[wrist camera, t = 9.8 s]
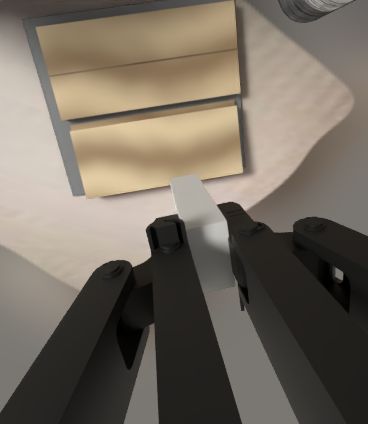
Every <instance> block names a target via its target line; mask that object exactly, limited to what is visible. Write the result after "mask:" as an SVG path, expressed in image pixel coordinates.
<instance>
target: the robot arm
mask: <svg viewBox="0 0 368 424" xmlns="http://www.w3.org/2000/svg"><path fill="white" fill-rule="evenodd" d="M169 180H170V185H171V190H172V195H173V200H174V205H175V210H176V214H174V215H170V216H165V217H160V218H156V220H155V221H154V222H153V223H151V224H150V225H149V226H148V227H147V229H146V233H147V237H148V241H149V245H150V249H151V257H150V258H149V259H148V260H147V261H145V262H144V263H142V264H140V265H137V266H135V267H132V265H131V264H130V262H128V261H125V260H116V261H110V262H108V263H105V264H103V265H102V266H100V267H99V268H97V269H96V270H95V271H94V272H93V273H92V275H91V276H90V278H89V279H88V281H87V282H86V284H85V285H84V287H83V288H82V290H81V292H80V293H79V295H78V296H77V298H76V299H75V301H74V302H73V304H72V305H71V307H70V308H69V310H68V311H67V313H66V314H65V316H64V317H63V319H62V320H61V322H60V323H59V325H58V326H57V328H56V329H55V331H54V333H53V334H52V335H51V337H50V339H49V340H48V341H47V343H46V344H45V346H44V348H43V349H42V351H41V352H40V354H39V355H38V357H37V358H36V360H35V361H34V363H33V364H32V366H31V367H30V369H29V370H28V372H27V373H26V375H25V376H24V378H23V379H22V381H21V382H20V384H19V385H18V387H17V388H16V390H15V392H14V393H13V395H12V396H11V397H10V399H9V400H8V402H7V404H6V405H5V407H4V408H3V410H2V411H1V413H0V424H124V420H125V417H126V413H127V409H128V406H129V402H130V399H131V395H132V392H133V388H134V385H135V381H136V378H137V374H138V371H139V367H140V364H141V360H142V356H143V353H144V349H145V346H146V342H147V339H148V335H149V328H150V327H149V325H151V324H153V323H154V325H155V348H156V369H157V390H158V391H157V392H158V414H159V424H242V422H241V419H240V415H239V412H238V409H237V405H236V402H235V399H234V395H233V392H232V389H231V385H230V382H229V378H228V375H227V372H226V368H225V365H224V361H223V358H222V355H221V352H220V348H219V345H218V341H217V338H216V334H215V331H214V328H213V325H212V321H211V318H210V314H209V311H208V308H207V304H206V301H205V297H204V294H203V293H208V292H212V291H217V290H221V289H225V288H230V287H234V286H235V279H234V276H235V278H236V280H237V282H238V289H239V297H240V304H241V311H244V306H245V308H246V310H247V312H248V314H249V316H250V319H251V321H252V323H253V325H254V327H255V329H256V332H257V334H258V336H259V338H260V340H261V342H262V344H263V347H264V349H265V351H266V353H267V355H268V357H269V360H270V362H271V364H272V366H273V368H274V370H275V373H276V375H277V377H278V379H279V381H280V383H281V385H282V388H283V390H284V392H285V394H286V396H287V398H288V400H289V403H290V405H291V407H292V409H293V411H294V413H295V415H296V418H297V420H298V422H299V424H368V236H366V235H364V234H361V233H359V232H357V231H354V230H352V229H350V228H347V227H345V226H343V225H340V224H338V223H336V222H333V221H331V220H328V219H325V218H317V217H307V218H304V219H300V220H298V221H296V222H295V223H294V225H293V232H285V233H274V232H273V231H272V230H271V229H270V228H269V227H268V226H267V225H266V224H264V223H261V222H254V221H253V220H252V219H251V218H250V216H249V215H248V214H246V212H245V210H243V208H242V207H241V206H240V205H239V204H237V203H234V202H227V203H222V204H218V205H216V203H215V202H214V200H213V199H212V197H211V196H210V194H209V193H208V191H207V189H206V188H205V186H204V185H203V183H202V182H201V180H200V178H199V177H198V175H197V174H191V175H186V176H181V177H176V178H172V179H169ZM335 267H336V268H338V269H339V270H341V271H342V272H343V281H342V280H340V279H338V278H336V277H335Z"/></svg>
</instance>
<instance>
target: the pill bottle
mask: <svg viewBox="0 0 368 424" xmlns="http://www.w3.org/2000/svg"><path fill="white" fill-rule="evenodd" d="M278 1H279V4H280V7H281V8H282V10H283V12H284V13H285V14H286V15H287V16H288V17H289V18H290V19H291V20H294V21H296V22H300V23H306V22H311V21H314V20H317V19H319V18H321V17H323V16H325V15H327V14H329V13H331V12H333V11H335V10H337V9H339V8H341V7H343V6H345V5H347V4H349V3H351V2H353V1H355V0H278Z"/></svg>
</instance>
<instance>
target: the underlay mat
mask: <svg viewBox="0 0 368 424" xmlns="http://www.w3.org/2000/svg"><path fill="white" fill-rule="evenodd" d="M224 1H232V0H164V1H156V2H149V3H142V4H134V5H127V6H119V7H112V8H104V9H97V10H89V11H82V12H74V13H67V14H60V15H52V16H45V17H37V18H30V19H22V21H23V24H24V28H25V31H26V35H27V38H28V42H29V45H30V49H31V52H32V55H33V59H34V62H35V66H36V69H37V73H38V76H39V80H40V83H41V87H42V90H43V93H44V97H45V100H46V104H47V107H48V111H49V114H50V118H51V121H52V124H53V128H54V131H55V135H56V138H57V142H58V145H59V149H60V152H61V156H62V159H63V162H64V166H65V169H66V173H67V176H68V180H69V183H70V187H71V190H72V193H73V196H78V195H84V194H85V191H84V187H83V183H82V179H81V175H80V171H79V167H78V163H77V159H76V155H75V151H74V147H73V143H72V139H71V135H70V131H71V127H70V125H75V124H81V123H88V122H94V121H101V120H107V119H114V118H120V117H126V116H133V115H139V114H146V113H152V112H159V111H165V110H172V109H178V108H185V107H191V106H198V105H204V104H211V103H217V102H224V101H230V100H234V102H235V106H236V105H237V114H238V124H239V135H240V145H241V156H242V167H243V168H245V157H244V143H243V128H242V114H241V99H240V93H239V94H232V95H226V96H219V97H213V98H206V99H200V100H193V101H187V102H180V103H173V104H167V105H160V106H154V107H147V108H141V109H134V110H128V111H121V112H115V113H108V114H102V115H95V116H89V117H82V118H76V119H69V120H63V121H61V117H60V114H59V110H58V106H57V103H56V99H55V96H54V92H53V88H52V85H51V81H50V78H49V74H48V70H47V67H46V63H45V60H44V56H43V52H42V49H41V45H40V42H39V38H38V34H37V31H36V27H41V26H48V25H55V24H63V23H70V22H77V21H85V20H92V19H99V18H107V17H114V16H121V15H129V14H136V13H144V12H151V11H158V10H166V9H173V8H180V7H188V6H195V5H202V4H210V3H217V2H224Z"/></svg>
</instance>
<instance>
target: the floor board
mask: <svg viewBox="0 0 368 424" xmlns="http://www.w3.org/2000/svg"><path fill="white" fill-rule="evenodd" d="M36 31H37V34H38V38H39V42H40V45H41V49H42V52H43V56H44V60H45V63H46V67H47V70H48V74H49V78H50V81H51V85H52V88H53V92H54V96H55V99H56V103H57V106H58V110H59V114H60V117H61V121H63V120H69V119H76V118H82V117H89V116H95V115H102V114H108V113H115V112H121V111H128V110H134V109H141V108H147V107H154V106H160V105H167V104H173V103H180V102H187V101H193V100H200V99H206V98H213V97H219V96H226V95H232V94H239V93H241V92H240V77H239V63H238V48H237V33H236V19H235V4H234V0H232V1H224V2H217V3H210V4H202V5H195V6H188V7H180V8H173V9H166V10H158V11H151V12H144V13H136V14H129V15H121V16H114V17H107V18H99V19H92V20H85V21H77V22H70V23H63V24H55V25H48V26H41V27H36Z"/></svg>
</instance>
